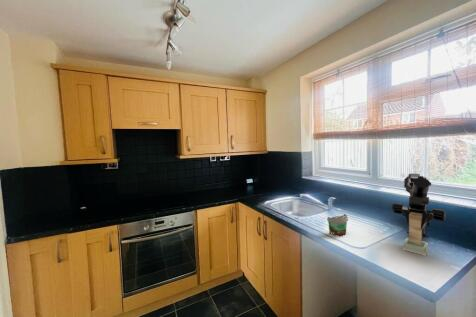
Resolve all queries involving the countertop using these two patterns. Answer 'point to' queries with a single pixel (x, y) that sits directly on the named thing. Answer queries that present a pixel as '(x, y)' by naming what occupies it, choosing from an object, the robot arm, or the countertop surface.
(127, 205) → the countertop surface
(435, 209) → the robot arm
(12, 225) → the countertop surface
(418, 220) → the slat
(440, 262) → the countertop surface
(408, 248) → the end cap
